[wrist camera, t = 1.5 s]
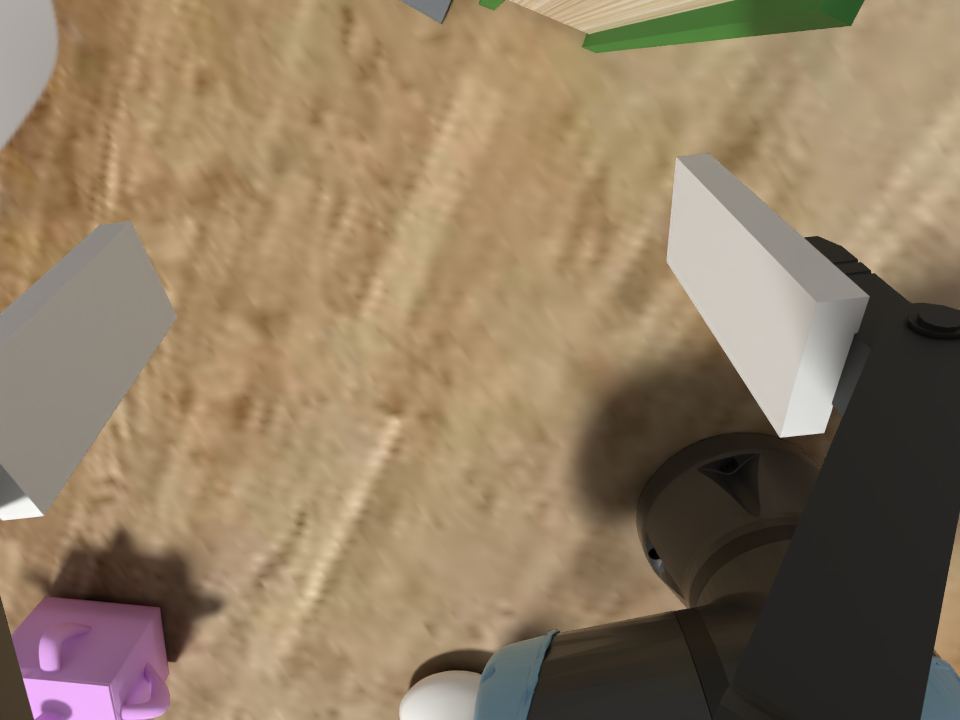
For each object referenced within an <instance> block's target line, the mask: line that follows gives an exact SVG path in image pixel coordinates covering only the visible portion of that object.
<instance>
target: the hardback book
mask: <svg viewBox="0 0 960 720" xmlns="http://www.w3.org/2000/svg"><path fill="white" fill-rule="evenodd" d="M504 1H505V0H480V2H479V5H482V6H484V7H486V8H489V9H491V10H495V9H496V8H497V7H498V6H499V5H500V4H501V3H503V2H504ZM509 1H511V2H514V3H516V4H519V5H521V6H523V7H526V8H528V9H531V10H533V11H535V12H538V13H540V14H542V15H545V16H547V17H550V18H552V19H554V20H557V21H559V22H561V23H564V24H566V25H569V26H571V27H573V28H576V29H578V30H580V31H583V32H585V33H587V35H586V37H585V40H584V43H583V46H582V47H583V48H585V49H588V50H590V51H593V52H595V53H600V52H609V51H619V50H628V49H637V48H647V47H656V46H666V45H675V44H684V43H694V42H703V41H712V40H722V39H731V38H741V37H750V36H759V35H769V34H778V33H787V32H797V31H806V30H816V29H825V28H834V27H844V26H851V25H852V23H853V21H854V19H855V17H856V15H857V13H858V12H859V10H860V8H861V6H862V4H863V2H864V0H509Z"/></svg>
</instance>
